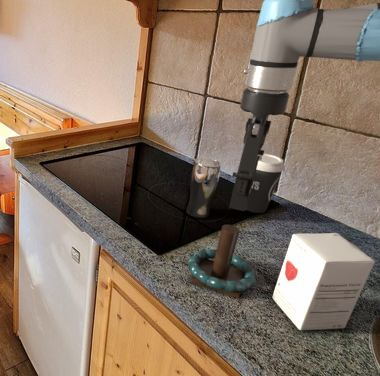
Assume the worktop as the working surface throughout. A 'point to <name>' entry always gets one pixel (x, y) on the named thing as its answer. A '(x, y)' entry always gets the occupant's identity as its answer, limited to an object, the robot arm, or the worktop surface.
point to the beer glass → (202, 186)
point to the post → (223, 261)
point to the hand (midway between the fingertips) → (241, 195)
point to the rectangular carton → (321, 280)
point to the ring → (218, 283)
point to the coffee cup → (264, 182)
